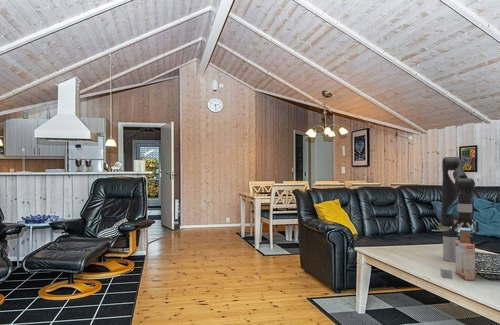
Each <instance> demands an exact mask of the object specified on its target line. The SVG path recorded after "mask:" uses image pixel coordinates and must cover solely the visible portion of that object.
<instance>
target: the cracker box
mask: <svg viewBox="0 0 500 325" xmlns="http://www.w3.org/2000/svg"><path fill="white" fill-rule="evenodd" d="M455 274H456V275H458V276H459V277H460V278H462V279H463V280H464V281H476V245H475V244H473V243H471V242H470V244H469V243H460V239H458V240H456V262H455Z"/></svg>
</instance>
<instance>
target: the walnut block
mask: <svg viewBox="0 0 500 325" xmlns="http://www.w3.org/2000/svg"><path fill="white" fill-rule="evenodd" d="M459 240H460V243H469V244H470V243H471V233H470V230H465V229H459Z"/></svg>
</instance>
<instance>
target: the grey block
mask: <svg viewBox="0 0 500 325" xmlns="http://www.w3.org/2000/svg"><path fill="white" fill-rule="evenodd" d="M440 277H441V278H443V279H449V280H450V279H453V269H452V268H450V267H440Z"/></svg>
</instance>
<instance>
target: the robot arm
mask: <svg viewBox="0 0 500 325" xmlns="http://www.w3.org/2000/svg"><path fill="white" fill-rule="evenodd" d="M441 164H442V170H441V172H442V186H441V210H440V211H441V213H440V224H441V226H442V227H450V229H448V230H444V231H443V232H442V260H443V261H446V262H451V263H456V240H459V235H458V234H459V230H460V229H461V228H462V229H464V228H465V229H470V230H471V231H472V240H474V239H476V233H479V232H480V227H479V221H478V220H477V221H473V203H472V196H473V192H474V189H475V186H476V183H475V180H474V179H473V178H470V177H469V178H468V175H467V174H466V172H465V169H464V166H463V162H462V160H461V158H460V157H458V156H446V157H445V156H444V157H443V158H442V162H441ZM449 171H453V172H452V176H453V179H454V181H453V180H452V178H451V177H450V175H449ZM458 190H460V191H466V192H462V193H459V194H458ZM456 200H457V213H448V210H449V208H450V207H451V206H452V205H453V204H454V202H455V201H456ZM473 224H474V226H475V229H474V228H473Z"/></svg>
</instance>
